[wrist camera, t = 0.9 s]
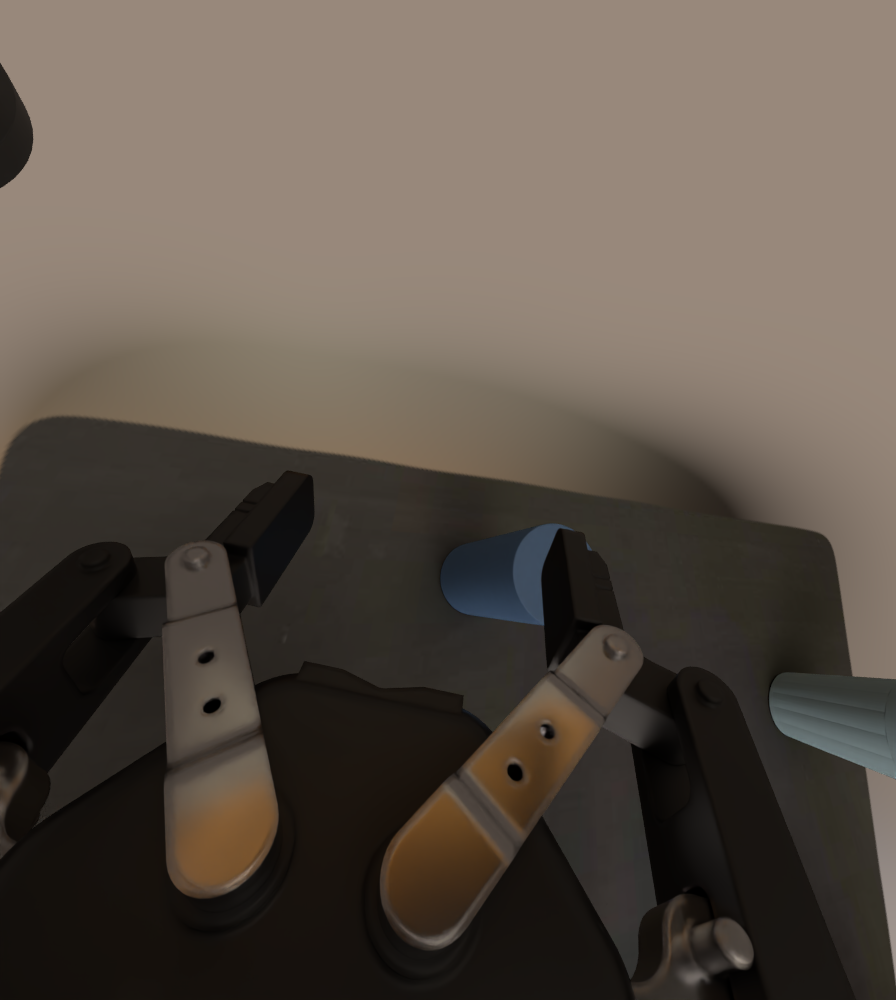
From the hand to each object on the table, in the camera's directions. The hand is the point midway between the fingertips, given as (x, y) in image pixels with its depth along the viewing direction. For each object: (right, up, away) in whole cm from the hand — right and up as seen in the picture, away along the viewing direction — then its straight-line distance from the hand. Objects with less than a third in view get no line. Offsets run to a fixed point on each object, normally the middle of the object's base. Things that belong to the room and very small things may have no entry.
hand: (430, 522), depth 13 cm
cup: (+32, -18, +25) cm, 44 cm away
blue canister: (+2, -5, +16) cm, 17 cm away
